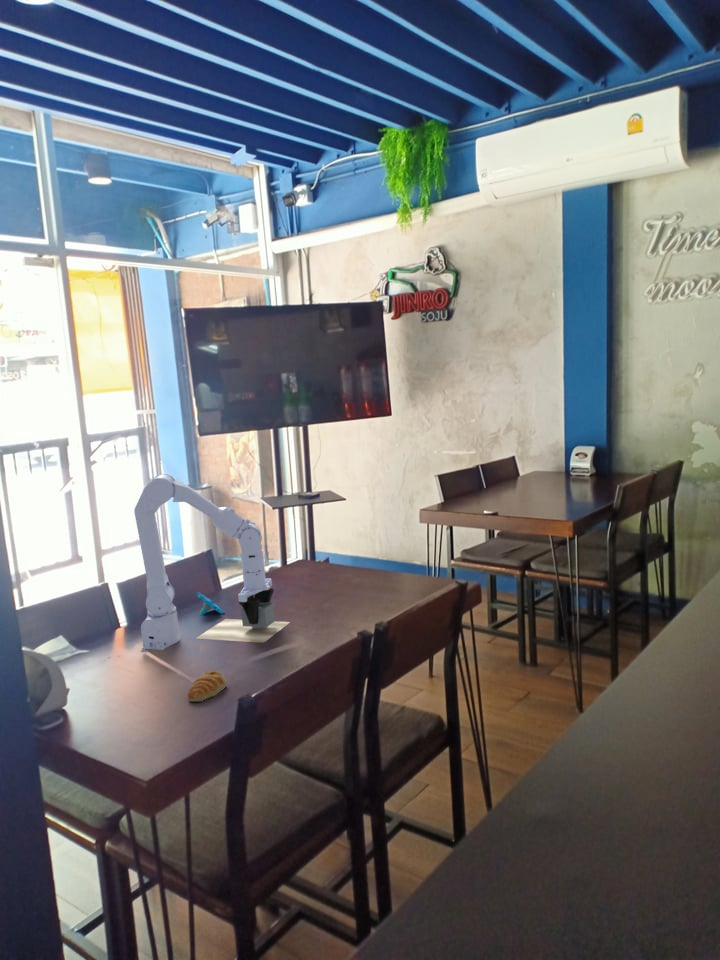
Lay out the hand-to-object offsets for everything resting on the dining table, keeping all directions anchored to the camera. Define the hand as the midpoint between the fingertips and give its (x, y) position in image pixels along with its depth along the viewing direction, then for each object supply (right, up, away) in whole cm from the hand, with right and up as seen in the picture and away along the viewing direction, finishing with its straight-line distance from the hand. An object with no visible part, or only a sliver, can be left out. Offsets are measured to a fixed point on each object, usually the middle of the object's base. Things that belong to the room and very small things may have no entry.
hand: (258, 620), depth 194 cm
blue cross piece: (-16, -2, +18) cm, 24 cm away
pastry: (-6, -9, -35) cm, 36 cm away
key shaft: (0, -3, 0) cm, 3 cm away
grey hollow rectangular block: (0, -1, 0) cm, 1 cm away
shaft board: (-4, -4, +1) cm, 5 cm away
